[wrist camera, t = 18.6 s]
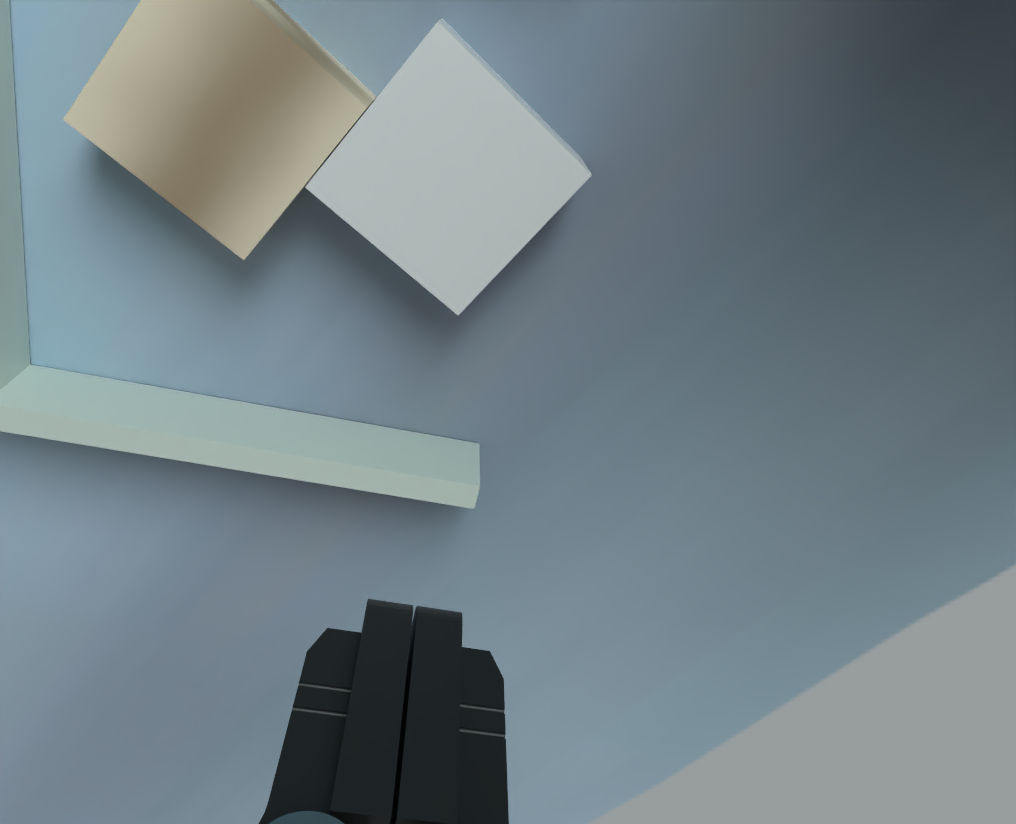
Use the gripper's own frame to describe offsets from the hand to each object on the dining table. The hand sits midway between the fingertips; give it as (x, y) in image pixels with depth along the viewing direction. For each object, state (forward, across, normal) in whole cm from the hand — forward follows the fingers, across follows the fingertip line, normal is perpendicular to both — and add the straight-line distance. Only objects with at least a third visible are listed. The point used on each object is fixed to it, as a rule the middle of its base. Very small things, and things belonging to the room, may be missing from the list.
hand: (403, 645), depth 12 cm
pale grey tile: (+18, +1, -4) cm, 18 cm away
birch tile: (+18, +7, -4) cm, 19 cm away
